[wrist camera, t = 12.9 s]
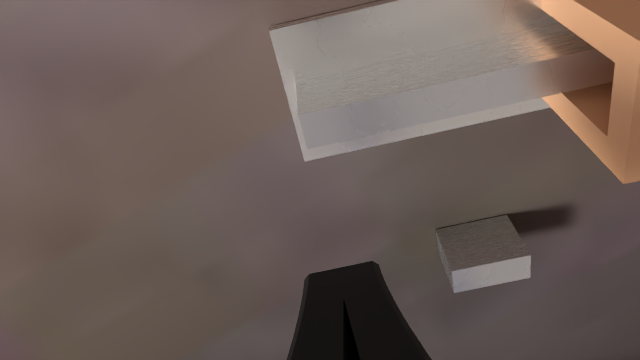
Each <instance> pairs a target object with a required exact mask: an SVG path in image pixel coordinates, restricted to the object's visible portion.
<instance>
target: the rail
mask: <svg viewBox="0 0 640 360" xmlns="http://www.w3.org/2000/svg"><path fill="white" fill-rule="evenodd" d="M541 5H542V0H381V1H376V2H372V3H368V4H364V5H359V6H355V7H351V8H347V9H342V10H338V11H334V12H330V13H326V14H321V15H317V16H313V17H309V18H304V19H300V20H296V21H292V22H287V23H283V24H279V25H275V26H270V27H269V32H270V36H271V40H272V43H273V47H274V51H275V54H276V58H277V62H278V65H279V69H280V73H281V76H282V80H283V84H284V87H285V91H286V95H287V98H288V102H289V106H290V109H291V113H292V117H293V120H294V124H295V128H296V131H297V135H298V139H299V142H300V146H301V150H302V153H303V157H304V161H309V160H314V159H318V158H323V157H327V156H332V155H337V154H341V153H346V152H350V151H355V150H359V149H364V148H368V147H373V146H377V145H382V144H386V143H391V142H396V141H400V140H405V139H409V138H414V137H418V136H423V135H427V134H432V133H436V132H441V131H445V130H450V129H455V128H459V127H464V126H468V125H473V124H477V123H482V122H486V121H491V120H495V119H500V118H504V117H509V116H514V115H518V114H523V113H527V112H532V111H536V110H541V109H545V108H550V106H549V105H548V104H547V103H546V102H545V101H544V100H543V99H542V97H546V96H550V95H555V94H559V93H564V92H569V91H573V90H578V89H582V88H587V87H591V86H596V85H600V84H605V83H609V82H613V77H614V68H615V62H613V61H612V60H611V59H609V58H608V57H606V56H605V55H604V54H602V53H601V52H600V51H598V50H597V49H595V48H594V47H593V46H591V45H590V44H589V43H587V42H586V41H584V40H583V39H582V38H580V37H579V36H578V35H576V34H575V33H573V32H572V31H571V30H569V29H568V28H567V27H565V26H564V25H562V24H561V23H560V22H558V21H557V20H556V19H554V18H553V17H551V16H550V15H549V14H547V13H546V12H545V11H543V10H542V9H541Z"/></svg>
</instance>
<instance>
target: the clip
mask: <svg viewBox="0 0 640 360" xmlns="http://www.w3.org/2000/svg"><path fill="white" fill-rule="evenodd" d="M541 9H542V10H543V11H545V12H546V13H547V14H549V15H550V16H551V17H553V18H554V19H556V20H557V21H558V22H560V23H561V24H562V25H564V26H565V27H567V28H568V29H569V30H571V31H572V32H573V33H575V34H576V35H578V36H579V37H580V38H582V39H583V40H584V41H586V42H587V43H589V44H590V45H591V46H593V47H594V48H595V49H597V50H598V51H600V52H601V53H602V54H604V55H605V56H606V57H608V58H609V59H611V60H612V61H613V62H615V68H614V77H613V82H609V83H605V84H600V85H596V86H591V87H587V88H582V89H578V90H573V91H569V92H564V93H559V94H555V95H550V96H546V97H542V99H543V100H544V101H545V102H546V103H547V104H548V105H549V106H550V107H551V108H552V109H553V110H554V111H555V112H556V113H557V114H558V115H559V116H560V118H561V119H562V120H563V121H564V122H565V123H566V124H567V125H568V126H569V127H570V128H571V129H572V130H573V131H574V132H575V133H576V134H577V135H578V137H579V138H580V139H581V140H582V141H583V142H584V143H585V144H586V145H587V146H588V147H589V148H590V149H591V150H592V151H593V152H594V153H595V154H596V156H597V157H598V158H599V159H600V160H601V161H602V162H603V163H604V164H605V165H606V166H607V167H608V168H609V169H610V170H611V171H612V172H613V173H614V174H615V176H616V177H617V178H618V179H619V180H620V181H621V182H622V183H623V184H626V183H631V182H635V181H640V0H542V5H541Z"/></svg>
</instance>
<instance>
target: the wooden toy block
mask: <svg viewBox="0 0 640 360" xmlns="http://www.w3.org/2000/svg"><path fill="white" fill-rule="evenodd" d="M436 239H437V247H438V252H439V255H440V257H441V260H442V263H443V265H444V268H445V271H446V273H447V276H448V279H449V281H450V284H451V287H452V289H453V292H454V293H457V292H462V291H466V290H471V289H476V288H481V287H486V286H491V285H496V284H501V283H506V282H511V281H516V280H521V279H526V278H530V263H531V255H530V253H529V252H528V250H527V248H526V246H525V245H524V243H523V241H522V240H521V238H520V236H519V235H518V233H517V231H516V229H515V228H514V226H513V224H512V223H511V221H510V219H509V217H508V216H507V215H503V216H498V217H493V218H489V219H484V220H479V221H474V222H470V223H465V224H460V225H455V226H450V227H446V228H441V229H436Z"/></svg>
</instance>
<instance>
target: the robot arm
mask: <svg viewBox="0 0 640 360" xmlns="http://www.w3.org/2000/svg"><path fill="white" fill-rule="evenodd" d="M287 360H432V359H431V358H430V357H429V355H428V354H427V352H426V351H425V349H424V348H423V346H422V345H421V343H420V342H419V340H418V339H417V337H416V336H415V334H414V333H413V331H412V330H411V328H410V327H409V325H408V323H407V322H406V320H405V318H404V317H403V315H402V313H401V312H400V310H399V308H398V306H397V304H396V303H395V301H394V299H393V297H392V295H391V293H390V291H389V289H388V287H387V285H386V283H385V281H384V278H383V276H382V273H381V271H380V267H379V264H377V263H375V262H373V261H370V262H365V263H360V264H356V265H351V266H346V267H341V268H336V269H332V270H327V271H322V272H317V273H312V274H309V275H308V276H307V277H306V279H305V281H304V290H303V296H302V302H301V307H300V311H299V316H298V320H297V324H296V328H295V333H294V337H293V340H292V344H291V347H290V350H289V354H288V357H287Z"/></svg>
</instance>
